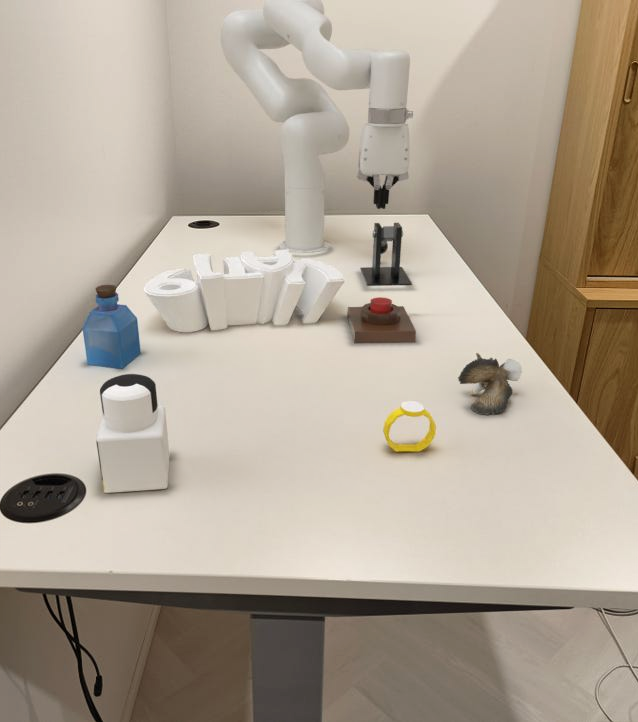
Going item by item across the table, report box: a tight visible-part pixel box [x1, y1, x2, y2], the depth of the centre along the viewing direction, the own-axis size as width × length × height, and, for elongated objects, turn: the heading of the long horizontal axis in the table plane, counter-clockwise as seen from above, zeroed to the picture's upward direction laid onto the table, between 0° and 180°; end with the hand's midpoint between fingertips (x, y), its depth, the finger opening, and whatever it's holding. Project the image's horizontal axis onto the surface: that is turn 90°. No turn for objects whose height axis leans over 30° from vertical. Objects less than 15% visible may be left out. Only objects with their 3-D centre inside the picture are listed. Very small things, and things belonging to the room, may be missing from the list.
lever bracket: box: [360, 222, 413, 287], centre depth 140 cm, size 12×9×12 cm
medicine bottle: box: [95, 373, 170, 494], centre depth 76 cm, size 7×7×12 cm
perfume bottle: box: [81, 284, 142, 370], centre depth 106 cm, size 6×6×12 cm
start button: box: [369, 296, 393, 313], centre depth 116 cm, size 4×4×2 cm
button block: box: [347, 302, 417, 344], centre depth 117 cm, size 12×10×4 cm
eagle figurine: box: [457, 352, 523, 416], centre depth 92 cm, size 8×7×9 cm
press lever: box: [381, 225, 394, 255], centre depth 144 cm, size 13×3×3 cm, turn 178°
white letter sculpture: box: [143, 249, 346, 333], centre depth 122 cm, size 35×16×11 cm, turn 94°
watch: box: [382, 400, 437, 453], centre depth 81 cm, size 6×3×6 cm, turn 93°
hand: (380, 207), depth 145 cm, fingers closed
